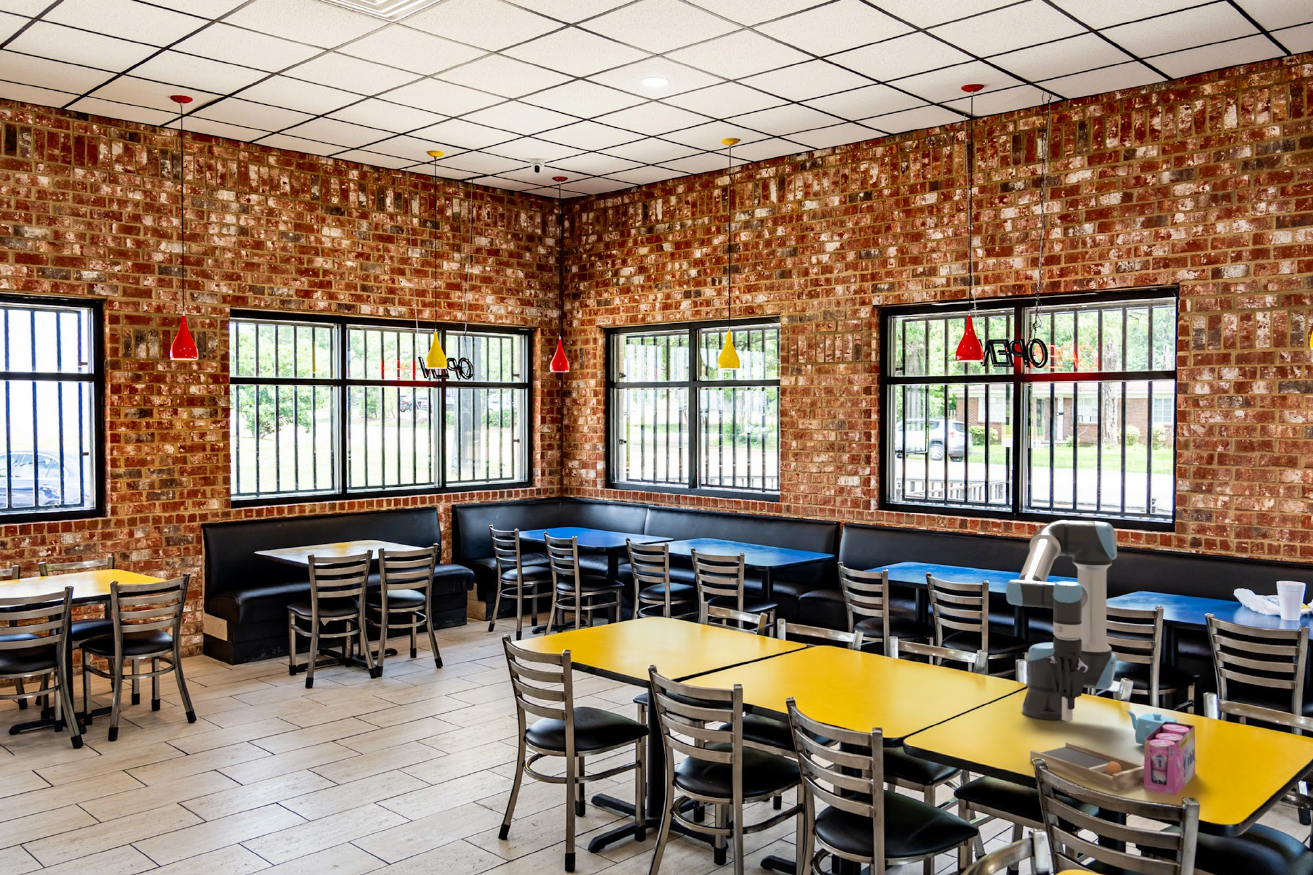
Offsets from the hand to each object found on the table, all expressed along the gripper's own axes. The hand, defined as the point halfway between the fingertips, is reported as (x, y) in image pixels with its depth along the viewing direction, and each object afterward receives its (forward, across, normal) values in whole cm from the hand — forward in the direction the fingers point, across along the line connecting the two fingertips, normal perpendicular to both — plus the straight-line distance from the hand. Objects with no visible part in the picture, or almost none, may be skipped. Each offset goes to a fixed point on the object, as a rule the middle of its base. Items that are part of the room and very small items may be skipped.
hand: (1067, 719), depth 290 cm
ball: (+10, +15, -1) cm, 18 cm away
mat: (+12, +7, -1) cm, 14 cm away
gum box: (+13, +25, +10) cm, 29 cm away
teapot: (+13, +5, +33) cm, 36 cm away
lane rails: (+12, +8, -1) cm, 15 cm away
